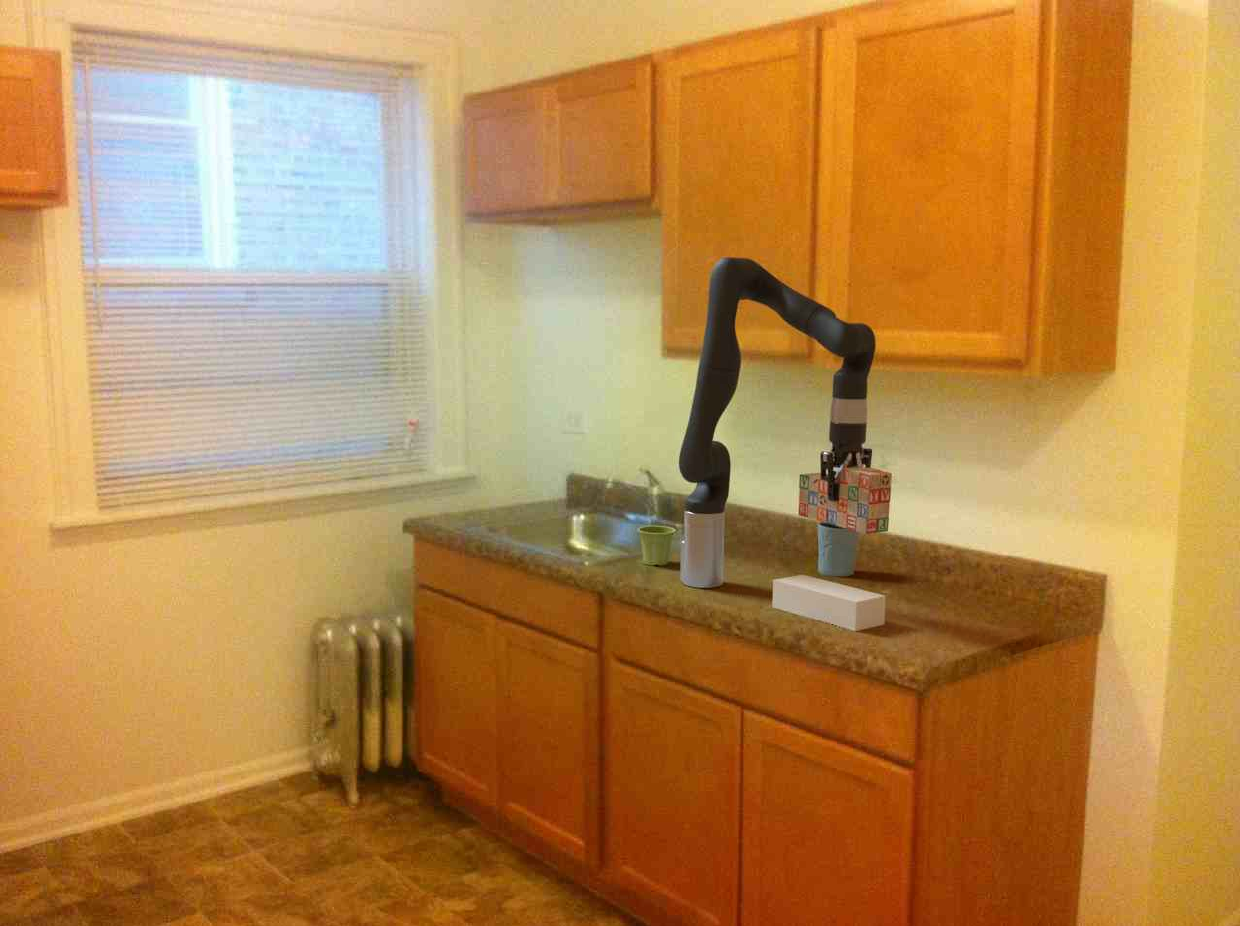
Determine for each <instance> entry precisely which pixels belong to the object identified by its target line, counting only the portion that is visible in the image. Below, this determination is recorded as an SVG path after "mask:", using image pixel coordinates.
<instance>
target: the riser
mask: <svg viewBox="0 0 1240 926" xmlns="http://www.w3.org/2000/svg"><path fill="white" fill-rule="evenodd" d="M772 608H773V609H777V610H781V611H785V612H787V613H790V614H795V615H798V616H801V617H804V618H808V619H812V620H814V621H818V620H820V621H819V622H821V621H823V622H822V623H825V622H827V623H826V624H828V623H830V624H829V625H831V624H834V625H833V626H835V625H837V626H836V627H838V626H840V628H842V627H843V628H842V629H845V628H846V630H848V629H849V631H851V632H859V631H863V630H865V629H872V628H875V627H879V626H884V625H885V616H886V595H884V594H881V593H877V592H874V591H873V592H871V591H868V590H864V589H860V588H856V587H852V586H848V585H845V584H842V583H838V582H833V581H830V580H824V579H822V578H818V577H813V576H810V575H806V574H799V575H793V576H788V577H782V578H776V579H773V580H772Z"/></svg>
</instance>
